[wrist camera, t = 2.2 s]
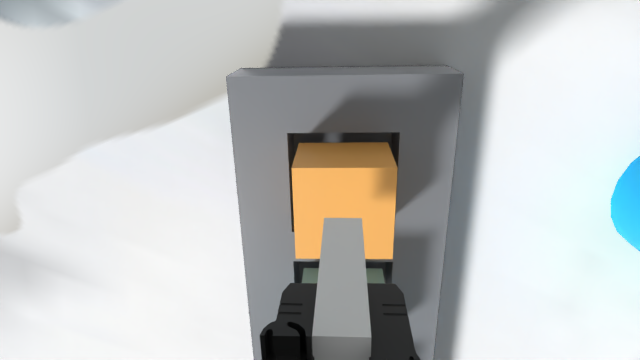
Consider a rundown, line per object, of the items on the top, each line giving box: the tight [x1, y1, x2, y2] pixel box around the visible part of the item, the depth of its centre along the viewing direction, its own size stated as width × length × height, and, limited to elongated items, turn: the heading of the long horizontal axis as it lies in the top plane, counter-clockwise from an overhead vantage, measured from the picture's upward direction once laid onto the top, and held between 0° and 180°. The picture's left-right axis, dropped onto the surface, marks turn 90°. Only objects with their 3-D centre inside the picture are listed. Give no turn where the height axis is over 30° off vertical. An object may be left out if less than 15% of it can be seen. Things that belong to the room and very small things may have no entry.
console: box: [226, 65, 464, 360], centre depth 28 cm, size 12×28×4 cm, turn 1°
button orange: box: [292, 142, 398, 259], centre depth 22 cm, size 5×5×4 cm
